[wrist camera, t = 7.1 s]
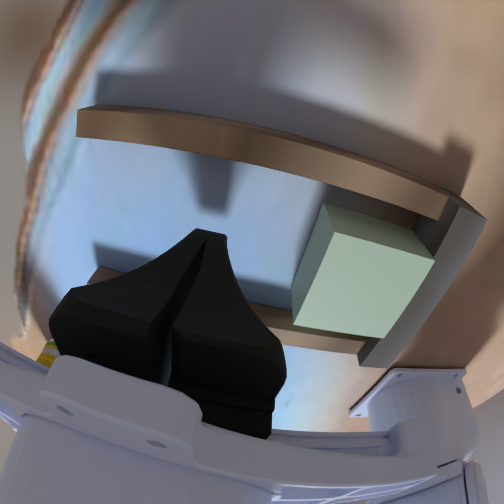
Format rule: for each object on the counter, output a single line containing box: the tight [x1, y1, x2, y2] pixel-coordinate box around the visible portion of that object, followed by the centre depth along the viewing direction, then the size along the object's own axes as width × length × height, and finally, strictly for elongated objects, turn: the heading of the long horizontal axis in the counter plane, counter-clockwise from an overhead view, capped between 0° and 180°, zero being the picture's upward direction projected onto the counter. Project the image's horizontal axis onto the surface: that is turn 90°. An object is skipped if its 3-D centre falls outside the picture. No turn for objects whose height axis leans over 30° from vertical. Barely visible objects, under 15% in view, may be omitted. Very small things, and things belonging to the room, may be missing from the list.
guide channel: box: [76, 105, 487, 368], centre depth 13 cm, size 18×10×2 cm, turn 77°
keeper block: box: [291, 202, 435, 338], centre depth 13 cm, size 5×5×3 cm
